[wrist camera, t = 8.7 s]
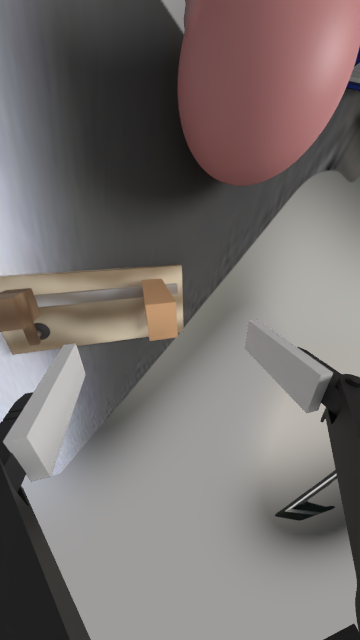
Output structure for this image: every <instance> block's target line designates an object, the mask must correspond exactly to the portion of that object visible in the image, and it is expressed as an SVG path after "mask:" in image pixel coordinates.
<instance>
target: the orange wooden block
mask: <svg viewBox="0 0 360 640" xmlns="http://www.w3.org/2000/svg"><path fill="white" fill-rule="evenodd" d="M142 287H143V295H144V304H145V311H146V318H147V325H148V333H149V340H150V341H153V340H160V339H168V338H175V337H178V335H177V311H176V301H175V299H174V298H173V296H172V295H171V293H170V291H169V290H168V288H167V287H166V285H165V283H164V282H163V280H162V279H161V278H160V279H147V280H142Z"/></svg>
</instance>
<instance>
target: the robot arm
mask: <svg viewBox="0 0 360 640" xmlns="http://www.w3.org/2000/svg"><path fill="white" fill-rule="evenodd" d="M245 349H246V350H247V351H248V352H249V354H250V355H251V356H253V358H254V359H255V360H256V361H257V362H258V363H259V364H260V365H261V366H262V367H263V368H264V369H265V370H266V371H267V372H268V373H269V374H270V375H271V377H272V378H273V379H274V380H275V381H276V382H277V383H278V384H279V385H280V386H281V387H282V388H283V389H284V390H285V391H286V392H287V393H288V394H289V395H290V396H291V397H292V399H293V400H294V401H295V402H296V403H297V404H298V405H299V406H300V407H301V408H302V409H303V410H304V411H305V412H306V413H309V412H313V411H317V410H318V409H319V406H320V404H321V403H322V404H323V405H325V406H326V409H325V411H324V413H323V415H322V418H321V422H323V421H324V419H326V421H327V426H328V432H329V437H330V442H331V447H332V452H333V458H334V463H335V468H336V473H337V478H338V483H339V488H340V493H341V499H342V504H343V509H344V514H345V520H346V525H347V530H348V535H349V540H350V545H351V550H352V556H353V561H354V566H355V571H356V577H357V591H356V598H355V606H356V617H357V623H358V629H359V631H358V629H357V628H356V626H355V624H352V625H350V626H349V627H347V628H345V629H343V630H341V631H339V632H337V633H335V634H334V635H331V636H329V637H328V638H326V639H324V640H360V377H357V376H354V375H350V374H340V373H339V372H337V371H336V370H334V369H333V368H332V367H330V366H329V365H327V364H326V363H324V362H323V361H321V360H319V359H318V358H317V357H315V356H314V355H313V354H311V353H309V352H308V351H307V350H304V349H302V348H300V347H296V346H294V345H293V344H291V343H290V342H289V341H287V340H286V339H285V338H283V337H282V336H280V335H279V334H277V333H276V332H275V331H273V330H272V329H270V328H269V327H267V326H266V325H264V324H263V323H262V322H260V321H259V320H250V321H249V324H248V331H247V338H246V345H245ZM85 375H86V374H85V371H84V368H83V365H82V362H81V358H80V355H79V352H78V349H77V346H76V343H74V344H67V345H63V347H62V348H61V350H60V351H59V353H58V355H57V356H56V358H55V359H54V361H53V363H52V364H51V366H50V367H49V369H48V370H47V372H46V374H45V375H44V377H43V378H42V380H41V382H40V383H39V385H38V386H37V388H36V390H35V391H34V392H33V393H27V394H24V395H23V396H22V397H21V398H20V399H18V400H17V401H16V402H15V403H14V405H13V406H12V407H11V409H10V410H9V413H8V414H7V415H6V416H5V417H4V419H3V421H2V422H1V423H0V640H91V639H90V637H89V635H88V633H87V631H86V628H85V626H84V624H83V621H82V619H81V617H80V615H79V612H78V610H77V608H76V606H75V604H74V601H73V599H72V597H71V595H70V592H69V590H68V588H67V586H66V583H65V581H64V579H63V577H62V574H61V572H60V570H59V568H58V566H57V563H56V561H55V559H54V556H53V554H52V552H51V550H50V548H49V545H48V543H47V541H46V539H45V536H44V534H43V532H42V530H41V527H40V525H39V523H38V521H37V518H36V516H35V514H34V512H33V509H32V507H31V505H30V503H29V501H28V498H27V496H26V494H25V492H24V489H23V488H22V487H21V484H22V482H23V480H24V477H25V475H27V477H28V478H29V480H30V481H31V482H32V481H36V480H39V479H44V478H48V477H51V474H52V471H53V469H54V466H55V463H56V460H57V457H58V454H59V451H60V448H61V445H62V442H63V439H64V436H65V433H66V430H67V427H68V425H69V422H70V419H71V416H72V413H73V410H74V407H75V404H76V401H77V398H78V395H79V392H80V389H81V386H82V383H83V381H84V378H85Z"/></svg>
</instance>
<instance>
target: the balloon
mask: <svg viewBox="0 0 360 640" xmlns="http://www.w3.org/2000/svg"><path fill="white" fill-rule="evenodd" d="M185 2H186V7H185V15H184V27H185V33H184V38H183V42H182V47H181V53H180V60H179V69H178V106H179V114H180V120H181V125H182V129H183V133H184V136H185V139H186V142H187V144H188V147H189V149H190V151H191V153H192V155H193V156H194V158H195V159H196V161H197V162H198V164H199V165H200V166H201V167H202V168H203V169H204V170H205V171H206V172H207V173H208V174H209V175H210V176H212V177H213V178H215V179H217V180H218V181H221V182H223V183H226V184H230V185H237V186H245V185H252V184H257V183H260V182H263V181H266V180H268V179H270V178H272V177H274V176H276V175H278V174H279V173H281V172H282V171H284V170H285V169H287V168H288V167H289V166H290V165H292V164H293V163H294V162H295V161H296V160H297V159H299V158H300V157H301V156H302V155H303V154H304V153H305V152H306V151H307V149H308V148H309V147H310V146H311V145H312V144H313V142H314V141H315V140H316V139H317V137H318V136H319V135H320V133H321V132H322V131H323V129H324V128H325V126H326V125H327V123H328V122H329V120H330V118H331V117H332V115H333V113H334V111H335V110H336V108H337V106H338V104H339V102H340V100H341V98H342V96H343V94H344V91H345V89H346V87H347V84H348V82H349V79H350V77H351V74H352V71H353V68H354V65H355V62H356V58H357V55H358V51H359V47H360V0H185Z"/></svg>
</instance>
